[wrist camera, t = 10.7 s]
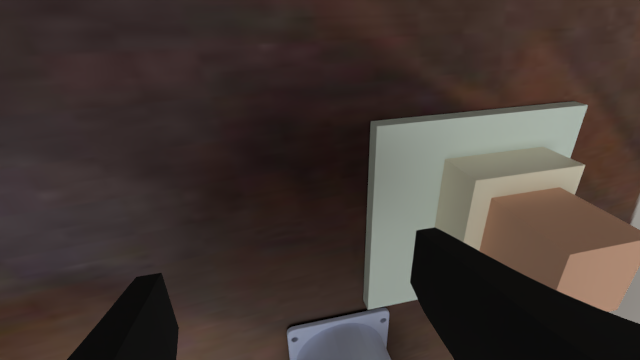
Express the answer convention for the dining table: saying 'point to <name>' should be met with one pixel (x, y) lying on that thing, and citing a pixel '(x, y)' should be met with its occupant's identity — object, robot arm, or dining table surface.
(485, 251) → the top brick
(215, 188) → the dining table surface
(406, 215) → the base plate
